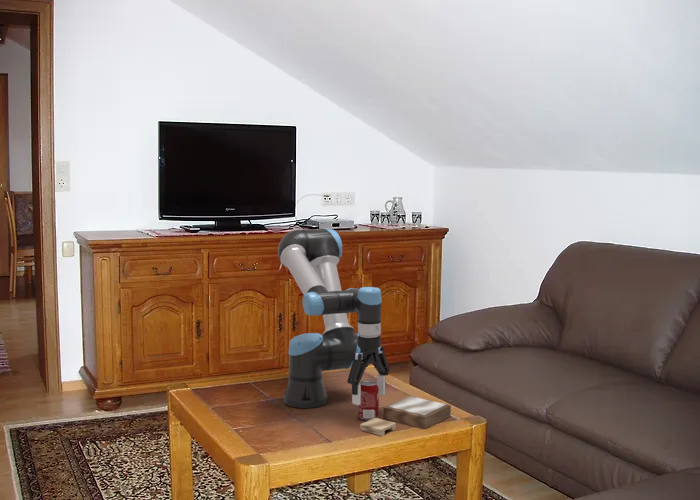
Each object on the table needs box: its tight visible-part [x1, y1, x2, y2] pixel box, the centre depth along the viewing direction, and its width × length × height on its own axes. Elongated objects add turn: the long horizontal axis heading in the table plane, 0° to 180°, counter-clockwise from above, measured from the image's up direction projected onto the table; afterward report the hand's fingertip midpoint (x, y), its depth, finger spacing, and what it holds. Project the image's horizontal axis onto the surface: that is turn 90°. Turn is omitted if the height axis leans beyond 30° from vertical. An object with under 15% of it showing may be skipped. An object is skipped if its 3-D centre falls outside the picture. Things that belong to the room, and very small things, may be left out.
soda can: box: [357, 379, 380, 422], centre depth 251 cm, size 7×7×12 cm
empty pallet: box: [359, 417, 397, 437], centre depth 241 cm, size 8×8×2 cm
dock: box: [382, 395, 452, 430], centre depth 253 cm, size 16×16×4 cm
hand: (368, 399), depth 251 cm, fingers open, 13 cm apart
